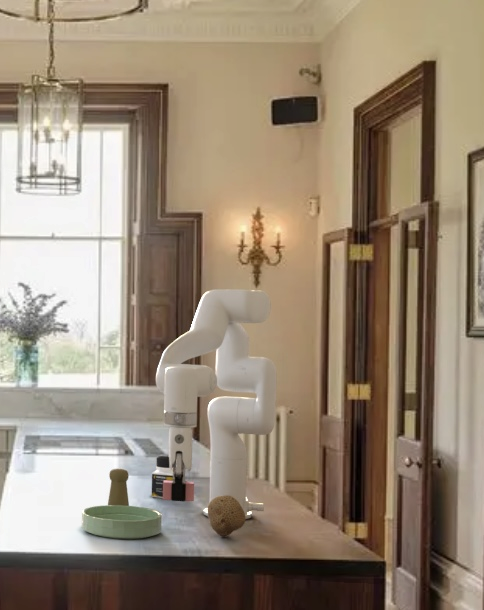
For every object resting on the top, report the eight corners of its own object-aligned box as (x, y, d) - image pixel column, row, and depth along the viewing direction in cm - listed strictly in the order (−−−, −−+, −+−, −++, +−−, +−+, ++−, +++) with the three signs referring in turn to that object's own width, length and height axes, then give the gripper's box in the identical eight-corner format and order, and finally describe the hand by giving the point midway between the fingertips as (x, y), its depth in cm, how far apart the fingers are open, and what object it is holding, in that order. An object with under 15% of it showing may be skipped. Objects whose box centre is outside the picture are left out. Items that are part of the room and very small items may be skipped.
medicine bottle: (151, 497, 293) (152, 455, 293) (157, 493, 300) (158, 452, 300) (175, 499, 290) (176, 457, 290) (180, 495, 297) (181, 454, 297)
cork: (128, 512, 270) (129, 471, 270) (105, 510, 271) (106, 470, 271) (130, 508, 276) (131, 467, 276) (108, 506, 277) (109, 466, 277)
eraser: (193, 498, 234) (194, 481, 234) (193, 501, 231) (194, 483, 231) (163, 497, 235) (163, 480, 235) (162, 499, 232) (163, 482, 232)
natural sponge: (245, 534, 246) (245, 493, 246) (245, 542, 237) (245, 499, 237) (207, 531, 248) (208, 490, 248) (205, 539, 239) (206, 497, 240)
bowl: (162, 525, 254) (162, 507, 254) (159, 542, 235) (159, 523, 235) (86, 521, 258) (87, 503, 258) (77, 537, 239) (77, 518, 239)
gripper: (196, 424, 224) (194, 506, 224) (197, 417, 241) (195, 494, 240) (162, 422, 226) (160, 504, 226) (165, 415, 242) (163, 492, 242)
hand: (178, 498), depth 233 cm, fingers closed on eraser, 3 cm apart
